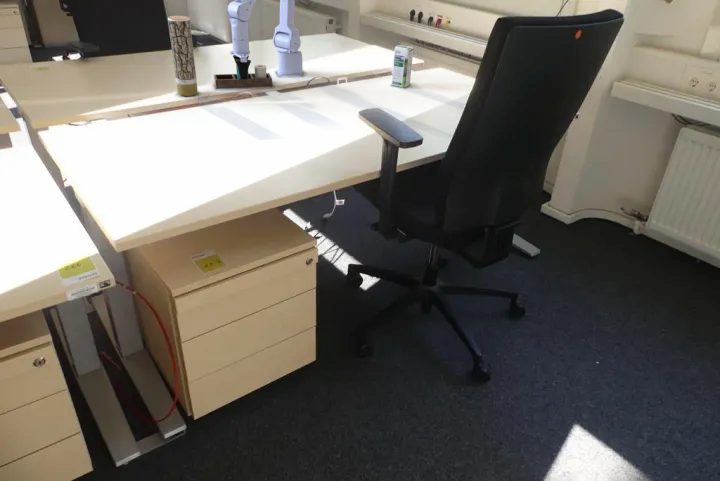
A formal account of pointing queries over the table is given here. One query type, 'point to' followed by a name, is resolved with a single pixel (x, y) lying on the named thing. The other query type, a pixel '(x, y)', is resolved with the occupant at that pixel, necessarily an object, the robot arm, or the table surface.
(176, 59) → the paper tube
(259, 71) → the roll
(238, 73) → the paper roll
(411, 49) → the syrup box
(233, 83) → the rack
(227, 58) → the table surface
